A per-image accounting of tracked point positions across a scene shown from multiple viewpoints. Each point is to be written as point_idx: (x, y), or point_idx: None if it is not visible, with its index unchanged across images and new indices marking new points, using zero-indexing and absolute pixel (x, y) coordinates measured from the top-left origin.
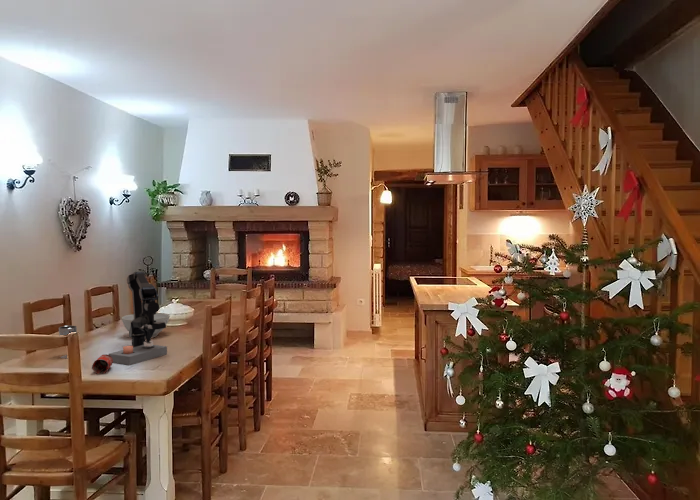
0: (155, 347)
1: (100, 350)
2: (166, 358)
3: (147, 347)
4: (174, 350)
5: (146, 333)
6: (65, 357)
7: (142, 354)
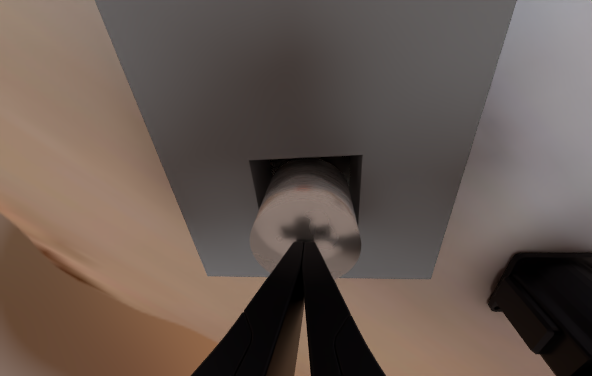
0: (247, 225)
1: None
2: (123, 162)
3: (279, 177)
4: None
5: (310, 361)
6: None
7: None
